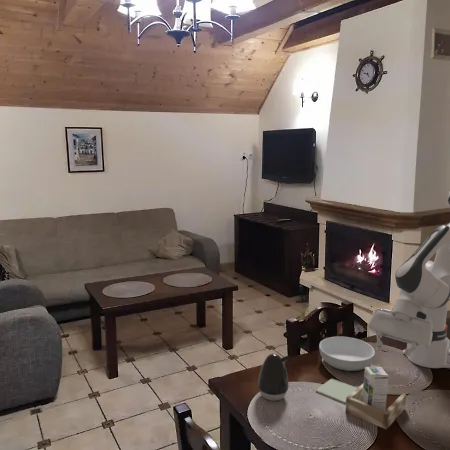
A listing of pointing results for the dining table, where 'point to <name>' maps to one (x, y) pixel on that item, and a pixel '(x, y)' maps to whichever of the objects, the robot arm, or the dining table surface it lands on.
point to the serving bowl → (346, 353)
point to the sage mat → (336, 390)
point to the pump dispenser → (273, 378)
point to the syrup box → (375, 387)
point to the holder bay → (374, 409)
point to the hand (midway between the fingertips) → (392, 350)
